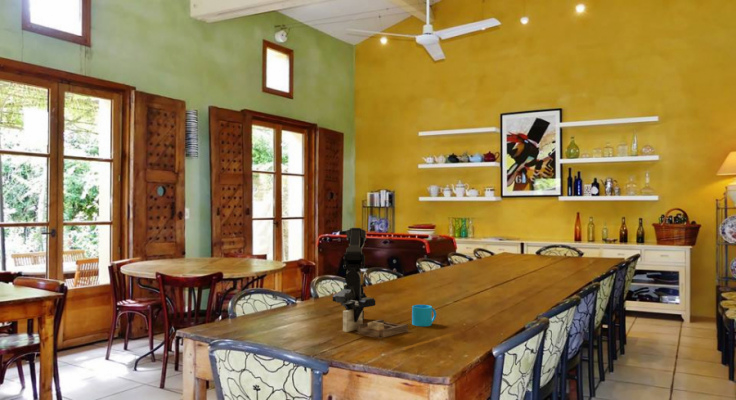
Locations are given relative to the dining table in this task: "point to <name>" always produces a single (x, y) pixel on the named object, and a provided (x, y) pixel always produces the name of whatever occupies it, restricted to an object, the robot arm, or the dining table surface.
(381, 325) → the offcut top
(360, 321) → the block
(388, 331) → the rack
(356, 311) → the robot arm
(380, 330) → the offcut low
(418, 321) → the mug
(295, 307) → the dining table surface
